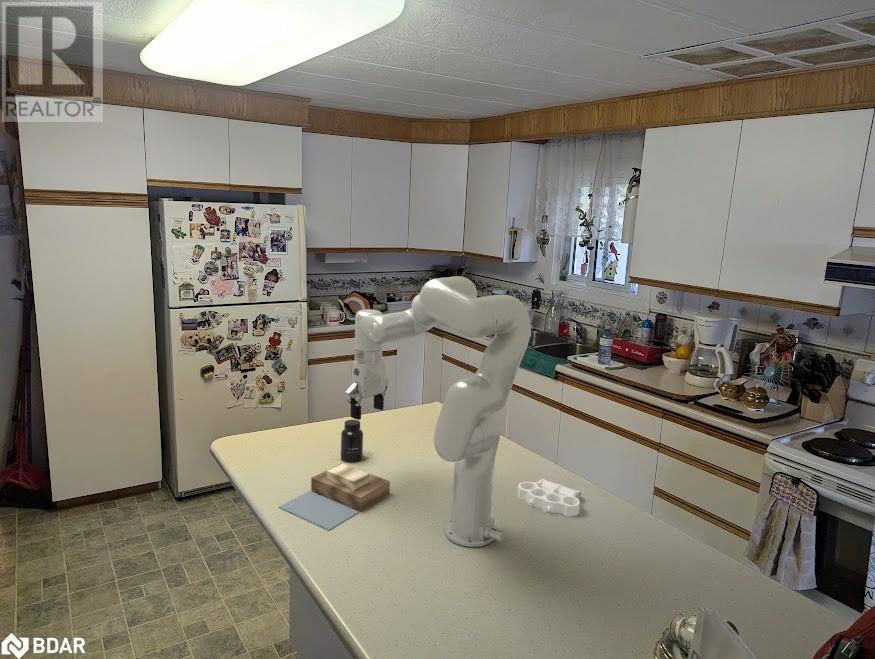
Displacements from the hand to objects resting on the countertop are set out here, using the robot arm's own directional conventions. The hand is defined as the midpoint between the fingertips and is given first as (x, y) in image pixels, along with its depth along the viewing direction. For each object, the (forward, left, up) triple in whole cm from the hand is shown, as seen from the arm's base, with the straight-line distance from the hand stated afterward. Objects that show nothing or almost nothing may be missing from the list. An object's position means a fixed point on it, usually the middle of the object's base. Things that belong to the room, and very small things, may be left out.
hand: (367, 413), depth 166 cm
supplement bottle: (+14, -9, -21) cm, 27 cm away
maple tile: (-1, +9, -16) cm, 18 cm away
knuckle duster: (-47, -23, -21) cm, 56 cm away
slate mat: (-1, +20, -21) cm, 29 cm away
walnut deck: (-1, +8, -21) cm, 22 cm away
